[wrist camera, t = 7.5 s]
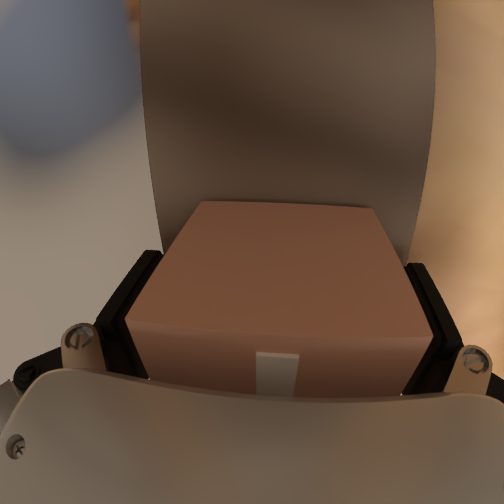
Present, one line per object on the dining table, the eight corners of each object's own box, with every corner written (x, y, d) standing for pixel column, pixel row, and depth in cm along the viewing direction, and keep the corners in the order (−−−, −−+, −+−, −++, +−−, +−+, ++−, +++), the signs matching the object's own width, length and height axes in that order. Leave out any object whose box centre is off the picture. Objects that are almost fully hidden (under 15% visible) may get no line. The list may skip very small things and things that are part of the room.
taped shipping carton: (201, 201, 11) (123, 321, 5) (372, 208, 10) (435, 339, 5) (215, 324, 14) (181, 443, 9) (346, 331, 13) (358, 455, 8)
